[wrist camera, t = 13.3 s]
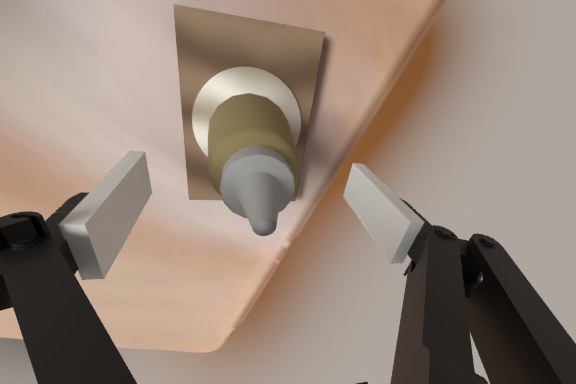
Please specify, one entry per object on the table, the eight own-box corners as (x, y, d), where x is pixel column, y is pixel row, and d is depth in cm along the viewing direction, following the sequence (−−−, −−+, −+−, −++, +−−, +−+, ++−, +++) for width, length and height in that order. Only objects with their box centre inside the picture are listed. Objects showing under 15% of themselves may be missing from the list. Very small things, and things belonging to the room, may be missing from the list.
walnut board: (177, 6, 22) (172, 3, 21) (320, 32, 25) (326, 31, 24) (190, 193, 32) (188, 201, 30) (293, 195, 35) (295, 202, 33)
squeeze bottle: (225, 73, 24) (207, 115, 9) (296, 107, 27) (373, 184, 12) (201, 145, 27) (156, 268, 12) (267, 169, 30) (298, 292, 15)
